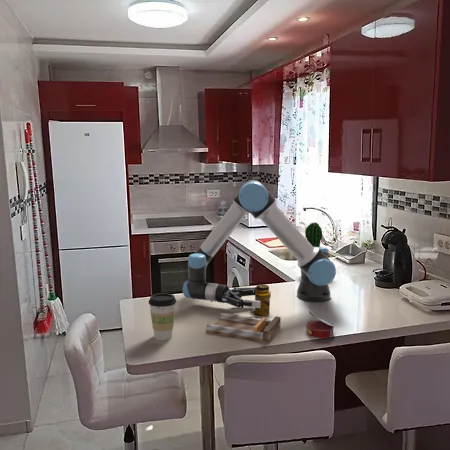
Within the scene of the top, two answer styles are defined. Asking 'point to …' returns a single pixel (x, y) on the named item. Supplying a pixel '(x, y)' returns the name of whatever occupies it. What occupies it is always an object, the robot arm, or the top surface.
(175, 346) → the top surface
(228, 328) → the rail board
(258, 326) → the latch
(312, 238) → the potted cactus
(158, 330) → the coffee cup
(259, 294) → the condiment
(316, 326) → the canned food
